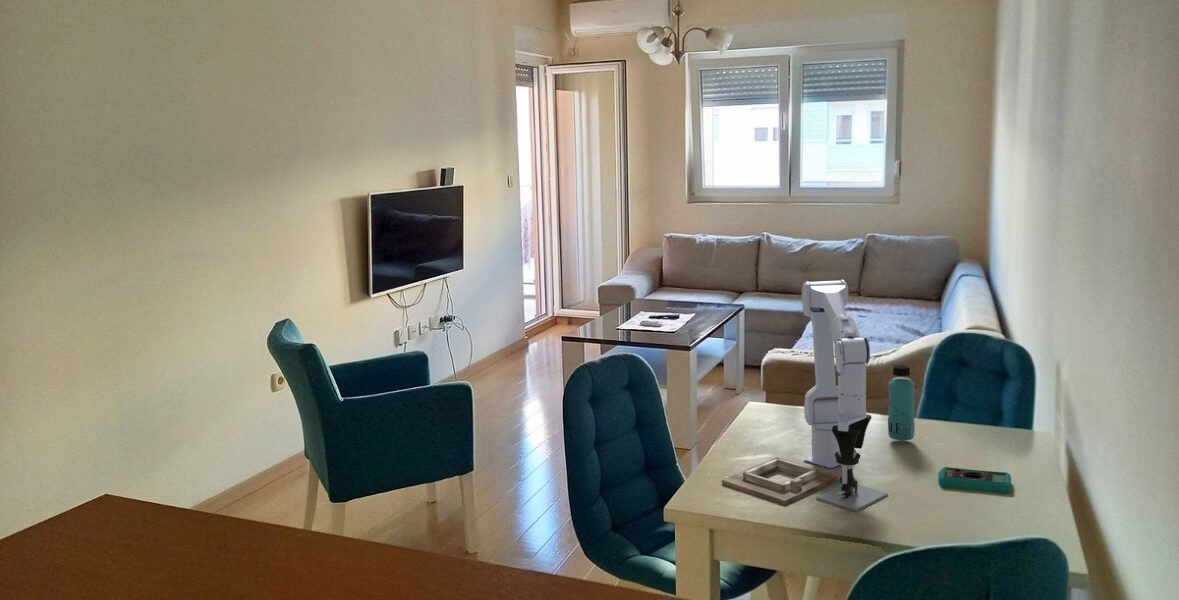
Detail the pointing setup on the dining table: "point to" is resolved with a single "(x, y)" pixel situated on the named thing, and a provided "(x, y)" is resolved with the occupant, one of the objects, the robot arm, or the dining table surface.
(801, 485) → the brown flat rectangular frame
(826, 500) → the rubber mat
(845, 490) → the push button
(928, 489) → the dining table surface
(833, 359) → the robot arm
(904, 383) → the beverage bottle
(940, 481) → the digital multimeter
